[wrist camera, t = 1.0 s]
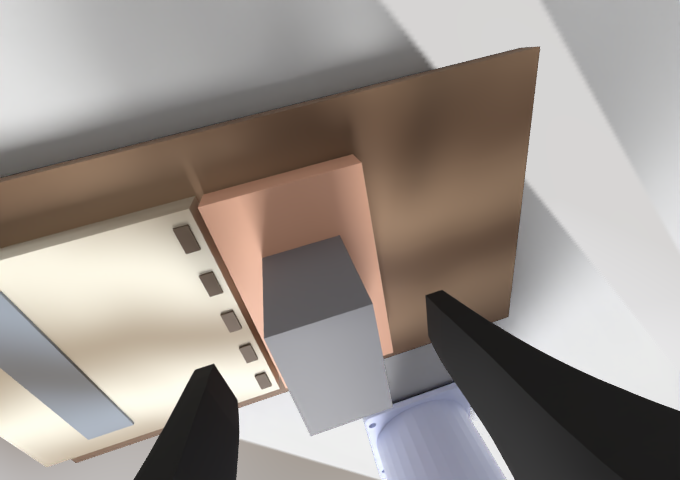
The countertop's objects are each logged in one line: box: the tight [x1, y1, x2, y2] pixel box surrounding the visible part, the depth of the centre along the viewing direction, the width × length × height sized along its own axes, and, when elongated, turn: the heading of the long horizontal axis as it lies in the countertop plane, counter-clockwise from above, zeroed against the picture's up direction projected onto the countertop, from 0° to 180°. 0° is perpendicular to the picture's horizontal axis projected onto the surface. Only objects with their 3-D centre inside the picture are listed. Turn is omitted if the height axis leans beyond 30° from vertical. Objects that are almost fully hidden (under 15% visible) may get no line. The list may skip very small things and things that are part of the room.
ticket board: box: [0, 47, 540, 467], centre depth 14 cm, size 14×25×2 cm, turn 102°
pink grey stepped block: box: [198, 154, 393, 436], centre depth 12 cm, size 10×6×5 cm, turn 12°
